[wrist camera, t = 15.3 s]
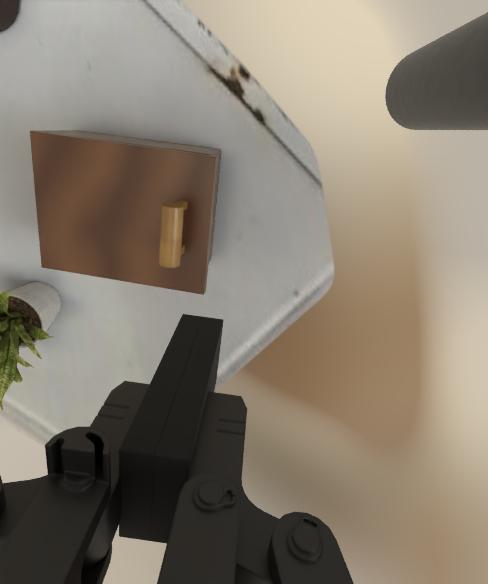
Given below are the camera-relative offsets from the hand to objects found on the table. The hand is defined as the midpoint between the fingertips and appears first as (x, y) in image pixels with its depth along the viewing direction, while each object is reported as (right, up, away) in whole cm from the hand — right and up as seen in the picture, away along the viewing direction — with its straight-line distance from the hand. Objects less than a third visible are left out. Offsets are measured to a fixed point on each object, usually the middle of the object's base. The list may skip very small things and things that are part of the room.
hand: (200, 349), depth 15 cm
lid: (-9, +9, +21) cm, 25 cm away
